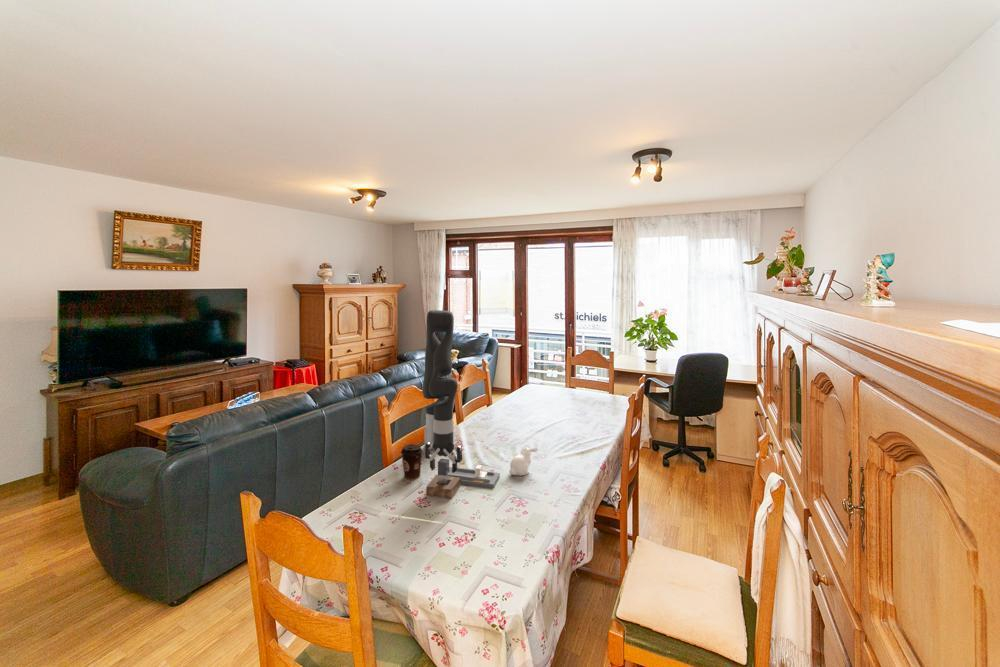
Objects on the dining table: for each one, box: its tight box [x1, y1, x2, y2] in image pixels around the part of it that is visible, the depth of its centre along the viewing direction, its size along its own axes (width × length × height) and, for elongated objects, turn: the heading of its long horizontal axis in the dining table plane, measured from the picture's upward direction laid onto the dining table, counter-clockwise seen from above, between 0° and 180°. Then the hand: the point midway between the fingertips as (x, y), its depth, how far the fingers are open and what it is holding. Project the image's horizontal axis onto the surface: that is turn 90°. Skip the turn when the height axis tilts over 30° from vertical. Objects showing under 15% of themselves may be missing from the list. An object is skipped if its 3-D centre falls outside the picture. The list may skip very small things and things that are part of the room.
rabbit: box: [508, 446, 538, 477], centre depth 181 cm, size 12×9×12 cm
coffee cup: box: [400, 443, 424, 481], centre depth 176 cm, size 9×8×13 cm
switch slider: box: [474, 464, 487, 478], centre depth 174 cm, size 4×5×4 cm
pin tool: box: [437, 458, 450, 485], centre depth 164 cm, size 3×3×12 cm
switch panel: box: [449, 466, 501, 489], centre depth 175 cm, size 22×10×3 cm, turn 76°
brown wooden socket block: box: [425, 474, 461, 500], centre depth 165 cm, size 10×10×4 cm
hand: (443, 470), depth 164 cm, fingers open, 8 cm apart
